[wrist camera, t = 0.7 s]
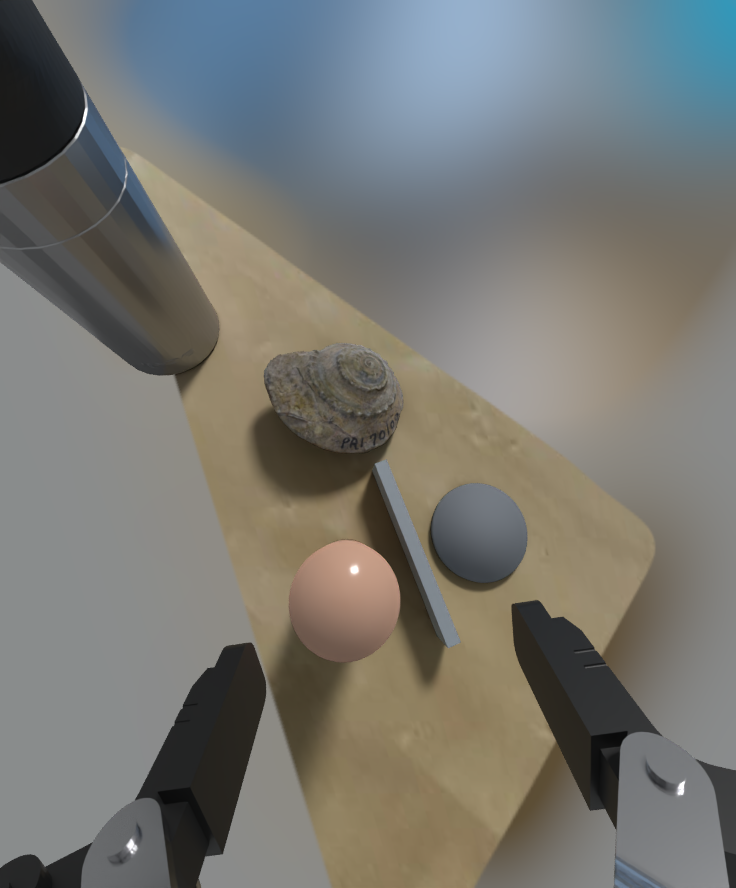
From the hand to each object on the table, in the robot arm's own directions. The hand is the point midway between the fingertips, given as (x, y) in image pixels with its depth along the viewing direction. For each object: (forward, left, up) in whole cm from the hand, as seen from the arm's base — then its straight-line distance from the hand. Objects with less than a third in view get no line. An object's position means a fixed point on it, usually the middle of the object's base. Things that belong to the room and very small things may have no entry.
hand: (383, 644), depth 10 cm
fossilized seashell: (-15, +3, -18) cm, 24 cm away
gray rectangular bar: (-1, +4, -18) cm, 18 cm away
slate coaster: (0, +10, -18) cm, 21 cm away
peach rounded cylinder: (-1, -1, -18) cm, 18 cm away
